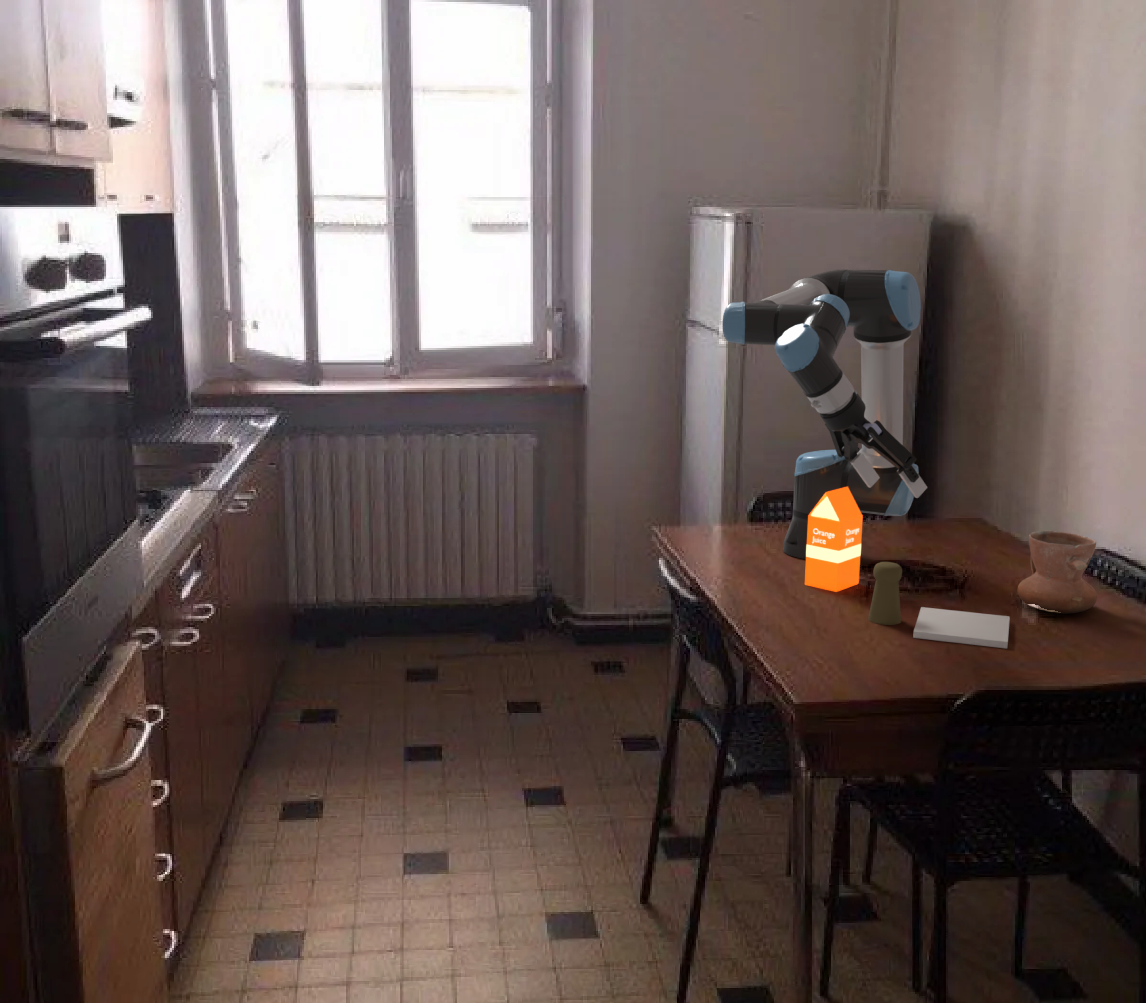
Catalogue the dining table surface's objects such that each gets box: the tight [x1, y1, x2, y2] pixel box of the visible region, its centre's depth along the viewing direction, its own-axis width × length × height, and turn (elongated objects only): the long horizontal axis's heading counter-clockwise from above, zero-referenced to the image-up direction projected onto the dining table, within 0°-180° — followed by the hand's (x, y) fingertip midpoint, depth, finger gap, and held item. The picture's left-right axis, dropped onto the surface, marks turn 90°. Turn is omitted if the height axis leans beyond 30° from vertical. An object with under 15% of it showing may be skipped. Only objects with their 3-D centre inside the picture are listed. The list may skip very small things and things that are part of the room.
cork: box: [867, 561, 903, 626], centre depth 234 cm, size 6×6×11 cm
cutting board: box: [912, 606, 1011, 649], centre depth 230 cm, size 16×16×1 cm
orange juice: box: [804, 487, 864, 593], centre depth 257 cm, size 8×9×20 cm
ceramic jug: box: [1017, 530, 1098, 615], centre depth 243 cm, size 18×14×14 cm
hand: (897, 487), depth 229 cm, fingers open, 13 cm apart
